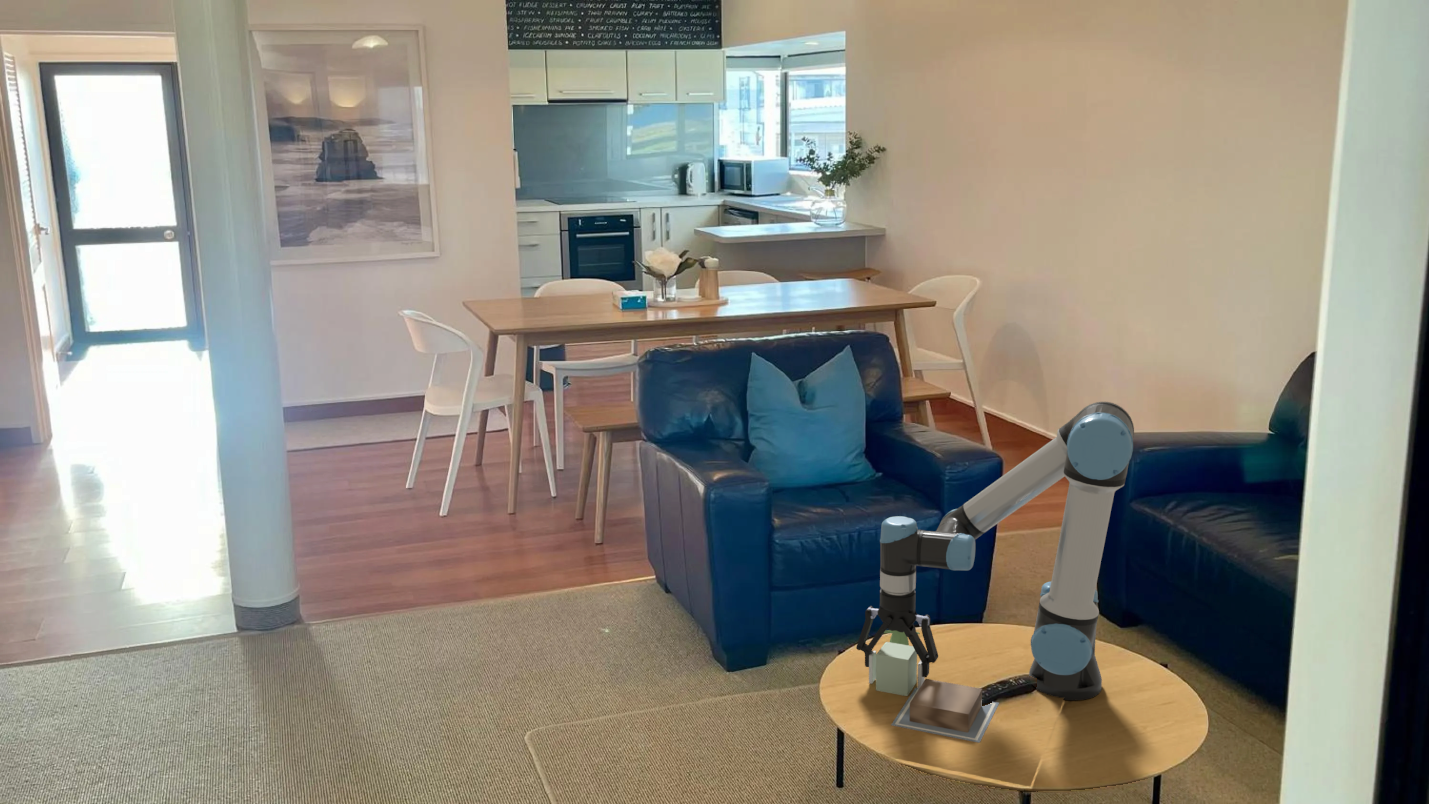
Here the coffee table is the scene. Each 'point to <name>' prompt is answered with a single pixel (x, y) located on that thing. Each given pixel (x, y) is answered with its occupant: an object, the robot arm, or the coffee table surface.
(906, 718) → the grey square plate
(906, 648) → the sage block
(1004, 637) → the coffee table surface
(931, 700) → the foundation block
